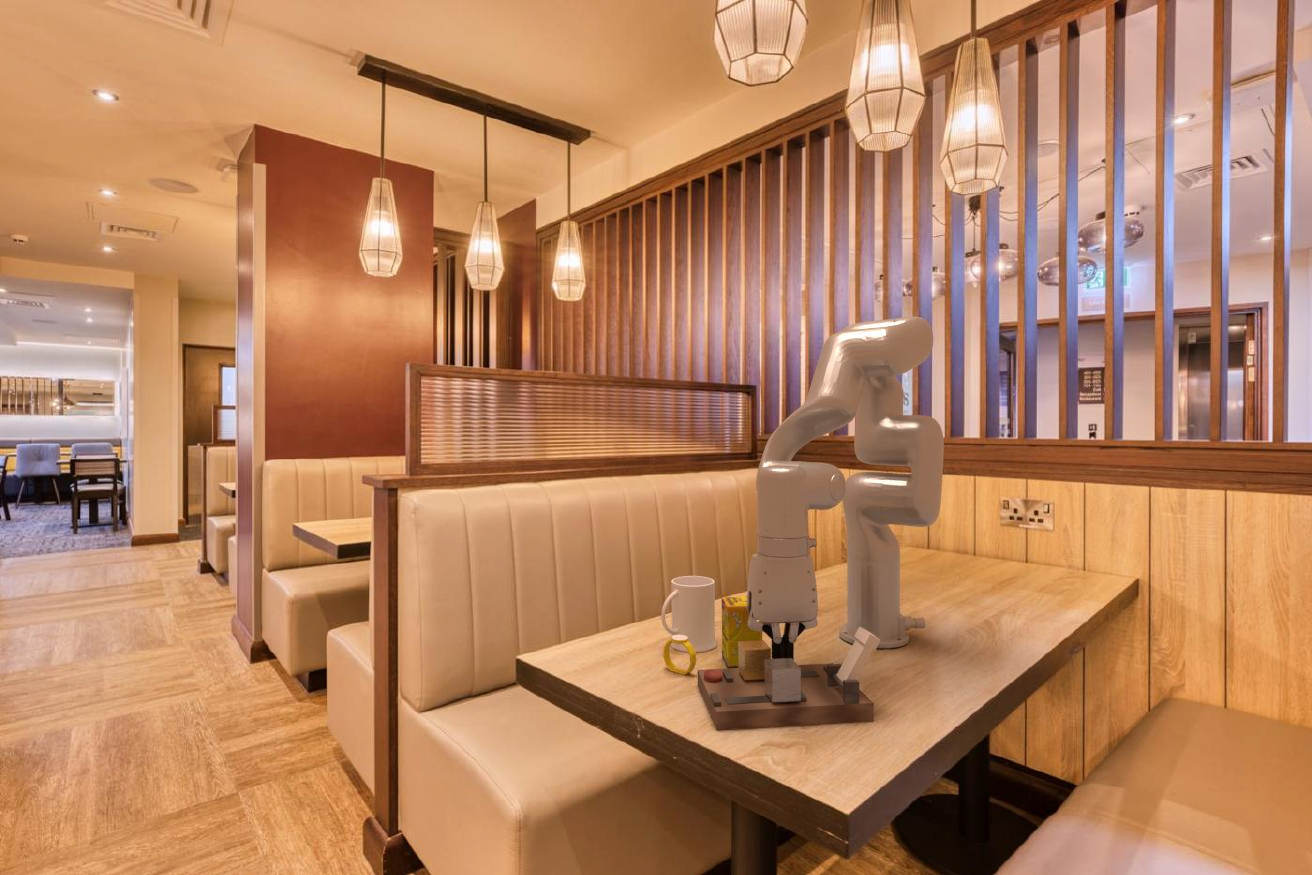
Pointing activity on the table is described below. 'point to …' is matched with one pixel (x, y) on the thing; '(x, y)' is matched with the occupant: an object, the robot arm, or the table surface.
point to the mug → (692, 612)
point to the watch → (684, 640)
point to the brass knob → (752, 658)
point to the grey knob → (782, 680)
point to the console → (752, 707)
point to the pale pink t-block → (856, 656)
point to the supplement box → (735, 629)
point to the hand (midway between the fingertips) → (782, 666)
